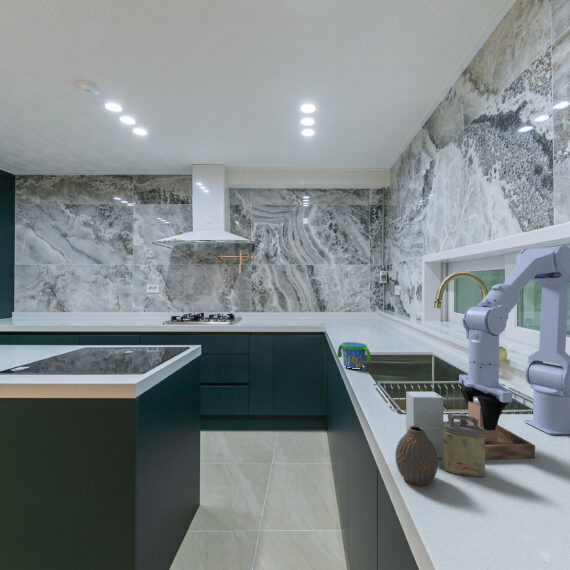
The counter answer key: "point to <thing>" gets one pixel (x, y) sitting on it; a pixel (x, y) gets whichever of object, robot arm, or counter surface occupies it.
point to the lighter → (464, 446)
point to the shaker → (481, 419)
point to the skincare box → (426, 416)
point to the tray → (507, 446)
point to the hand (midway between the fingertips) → (482, 425)
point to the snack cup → (354, 354)
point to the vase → (416, 457)
